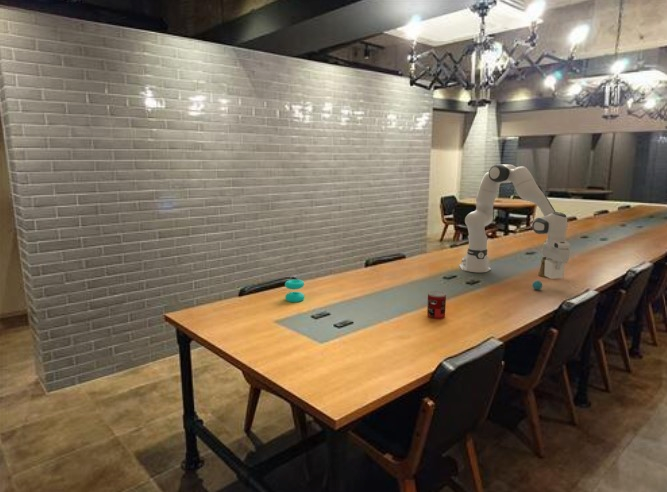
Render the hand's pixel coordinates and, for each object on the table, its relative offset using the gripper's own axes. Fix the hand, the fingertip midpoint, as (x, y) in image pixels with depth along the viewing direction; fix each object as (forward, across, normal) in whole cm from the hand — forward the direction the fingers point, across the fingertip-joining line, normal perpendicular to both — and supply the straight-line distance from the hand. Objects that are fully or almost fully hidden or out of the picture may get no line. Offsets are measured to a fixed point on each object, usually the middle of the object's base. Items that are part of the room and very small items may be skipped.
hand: (553, 267), depth 240 cm
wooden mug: (+13, -26, +14) cm, 32 cm away
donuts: (+14, +5, -141) cm, 142 cm away
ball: (+10, +1, -8) cm, 13 cm away
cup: (+5, 0, +1) cm, 5 cm away
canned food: (+13, +37, -76) cm, 85 cm away
